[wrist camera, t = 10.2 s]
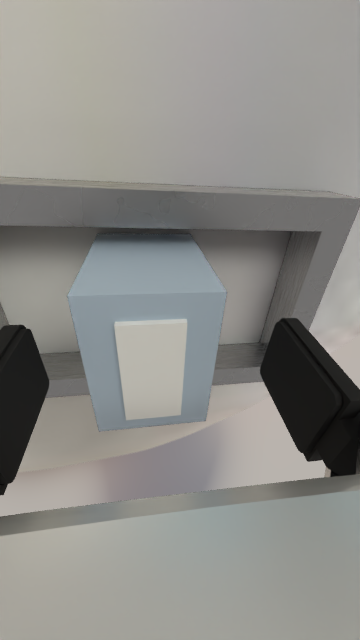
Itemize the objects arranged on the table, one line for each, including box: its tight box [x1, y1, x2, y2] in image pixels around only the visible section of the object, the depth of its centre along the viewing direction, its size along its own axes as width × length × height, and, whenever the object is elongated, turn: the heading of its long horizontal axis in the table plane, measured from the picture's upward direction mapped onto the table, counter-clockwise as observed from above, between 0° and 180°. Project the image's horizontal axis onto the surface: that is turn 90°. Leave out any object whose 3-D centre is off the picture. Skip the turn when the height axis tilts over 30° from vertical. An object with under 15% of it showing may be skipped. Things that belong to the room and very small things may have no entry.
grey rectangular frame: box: [0, 177, 360, 398], centre depth 14 cm, size 20×12×2 cm, turn 87°
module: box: [67, 233, 227, 431], centre depth 13 cm, size 5×7×7 cm
